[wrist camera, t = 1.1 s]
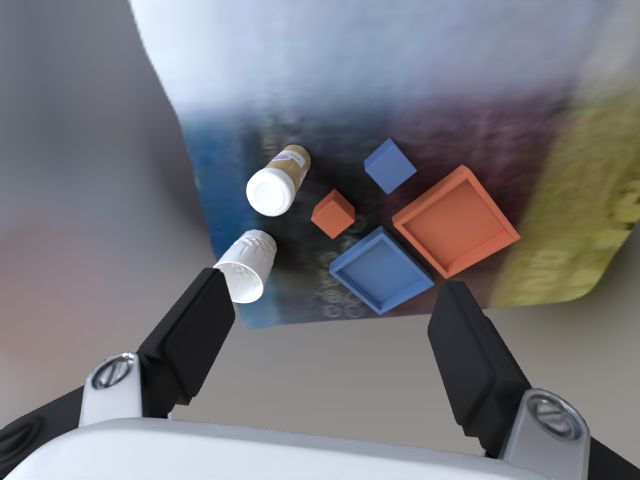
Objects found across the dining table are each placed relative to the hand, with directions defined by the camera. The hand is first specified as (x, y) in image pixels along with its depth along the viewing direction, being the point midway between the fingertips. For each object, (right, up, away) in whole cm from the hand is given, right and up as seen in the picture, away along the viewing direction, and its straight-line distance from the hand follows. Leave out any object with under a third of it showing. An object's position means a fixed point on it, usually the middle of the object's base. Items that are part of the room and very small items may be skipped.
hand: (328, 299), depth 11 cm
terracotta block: (+2, +8, +27) cm, 28 cm away
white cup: (-11, +2, +33) cm, 35 cm away
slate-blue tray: (+10, -3, +33) cm, 34 cm away
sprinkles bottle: (-4, +14, +24) cm, 28 cm away
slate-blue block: (+9, +13, +23) cm, 28 cm away
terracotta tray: (+20, +5, +27) cm, 33 cm away
